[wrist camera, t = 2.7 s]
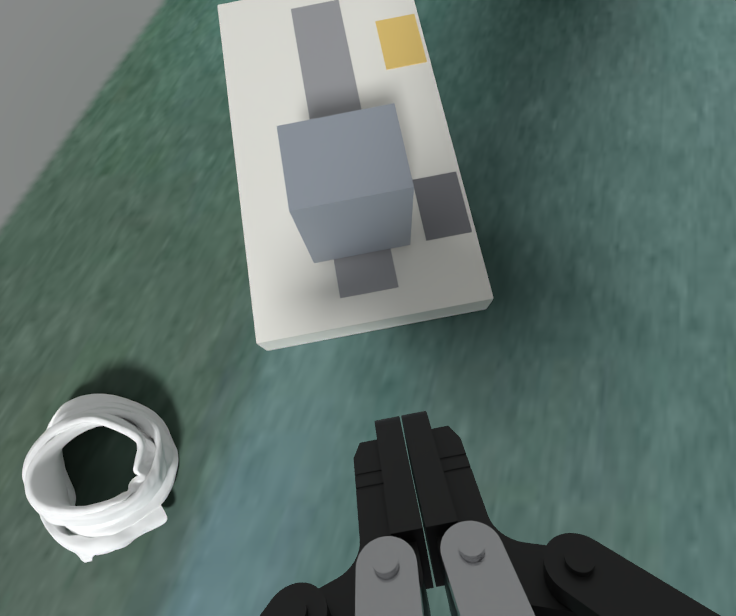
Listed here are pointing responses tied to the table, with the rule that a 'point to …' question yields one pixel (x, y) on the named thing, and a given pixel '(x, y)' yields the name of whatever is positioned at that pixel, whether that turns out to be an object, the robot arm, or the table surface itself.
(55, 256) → the table surface
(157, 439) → the white folded ring
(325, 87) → the switch housing
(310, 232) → the switch tab
